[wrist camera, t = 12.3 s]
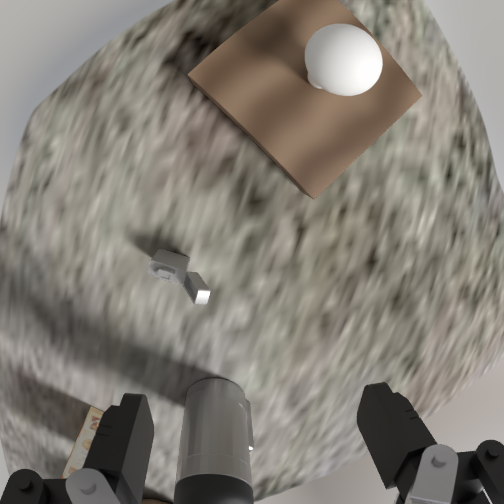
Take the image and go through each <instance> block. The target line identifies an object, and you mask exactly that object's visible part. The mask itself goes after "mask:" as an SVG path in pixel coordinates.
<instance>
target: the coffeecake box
mask: <svg viewBox="0 0 504 504" xmlns="http://www.w3.org/2000/svg"><path fill="white" fill-rule="evenodd" d="M103 413H104V412H102V411H101V410H99V409H96V408H95V407H93V406H91V407H90V410H89V412H88V414H87V417H86V419H85V421H84V423H83V426H82V428H81V430H80V433H79V435H78V437H77V440H76V442H75V444H74V447H73V449H72V452H71V454H70V457H69V459H68V462H67V464H66V467H65V469H64V472H63V475H62V477H61V479H65V478H68V476H69V475H70V474H71V473H72V472H74V471H76V470H78V469H81V468H82V467H83V465H84V462H85V459H86V456H87V454H88V451H89V448H90V446H91V443H92V440H93V438H94V435H95V432H96V430H97V427H99V422H100V420H101V417H102V415H103Z"/></svg>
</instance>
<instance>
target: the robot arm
mask: <svg viewBox="0 0 504 504" xmlns="http://www.w3.org/2000/svg"><path fill="white" fill-rule="evenodd" d="M357 424H358V428H359V430H360V432H361V434H362V436H363V439H364V441H365V443H366V445H367V447H368V450H369V452H370V454H371V456H372V459H373V461H374V463H375V465H376V467H377V470H378V472H379V474H380V476H381V479H382V481H383V483H384V485H385V488H386V489H390V488H393V487H396V486H397V488H398V490H399V492H398V494H397V496H396V498H395V501H394V504H490V502H489V501H488V499H487V497H486V495H485V493H484V492H483V489H485V491H486V493H487V494H488V496H489V498H490V500H491V502H492V503H493V504H504V445H503V444H501V443H500V442H498V441H495V440H486V441H484V442H482V443H481V444H480V445H479V446H478V448H477V449H476V451H469V452H459V453H456V452H455V451H454V450H453V449H452V448H450V447H449V446H446V445H442V444H437V442H436V441H435V439H434V438H433V437H432V435H431V433H430V432H429V430H428V429H427V427H426V426H425V424H424V423H423V421H422V420H421V418H419V415H418V414H417V412H416V411H414V408H413V406H412V405H411V403H410V402H409V400H408V399H407V398H405V397H404V396H402V395H401V394H400V393H398V392H397V393H393V392H392V390H391V389H390V387H389V386H388V384H387V383H385V382H382V383H376V384H370V385H366V386H365V388H364V391H363V394H362V398H361V401H360V405H359V408H358V412H357ZM153 438H154V424H153V420H152V416H151V412H150V409H149V405H148V401H147V397H146V395H144V394H131V393H125V394H124V395H123V398H122V401H121V403H120V406H114V405H111V406H110V407H109V408H108V409H107V410H106V411H105V412H104V413H103V415H102V417H101V420H100V422H99V427H97V430H96V432H95V435H94V438H93V440H92V443H91V446H90V448H89V451H88V454H87V456H86V459H85V462H84V465H83V467H82V468H81V469H78V470H76V471H74V472H72V473H71V474H70V475H69V476H68V478H65V479H42V478H41V477H40V476H39V474H38V473H36V472H35V471H33V470H29V469H21V470H18V471H16V472H14V473H13V474H12V475H11V476H10V478H9V480H8V482H7V485H6V487H5V490H4V492H3V495H2V497H1V500H0V504H141V502H142V496H143V490H144V485H145V479H146V474H147V468H148V463H149V458H150V453H151V448H152V443H153ZM253 449H254V441H253V430H252V419H251V408H250V403H249V402H248V401H247V400H246V398H245V394H244V392H243V390H242V389H241V388H240V387H239V386H238V385H236V384H235V383H233V382H231V381H228V380H224V379H218V378H209V379H204V380H201V381H198V382H196V383H195V384H193V385H192V386H191V387H190V388H189V390H188V392H187V396H186V401H185V410H184V416H183V424H182V431H181V439H180V447H179V455H178V464H177V473H176V482H175V492H174V503H173V504H253V503H254V499H253V490H252V478H251V467H250V454H249V452H250V451H252V450H253Z"/></svg>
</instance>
